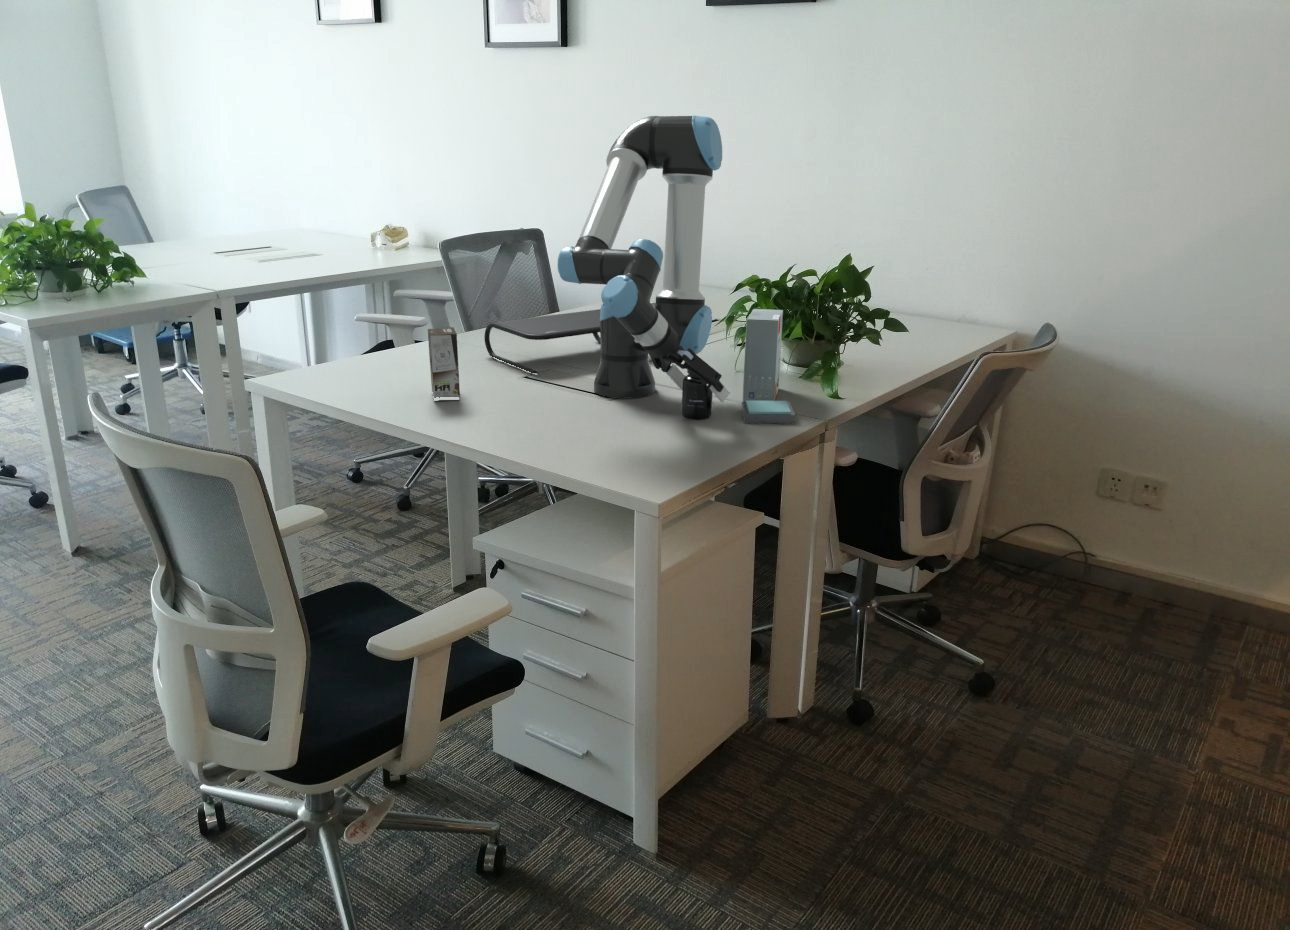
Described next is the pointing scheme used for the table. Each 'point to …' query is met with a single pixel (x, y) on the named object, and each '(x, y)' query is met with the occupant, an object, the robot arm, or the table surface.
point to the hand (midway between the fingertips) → (705, 391)
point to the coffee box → (444, 362)
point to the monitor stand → (547, 329)
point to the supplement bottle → (696, 398)
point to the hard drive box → (762, 355)
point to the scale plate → (768, 407)
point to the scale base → (767, 416)
